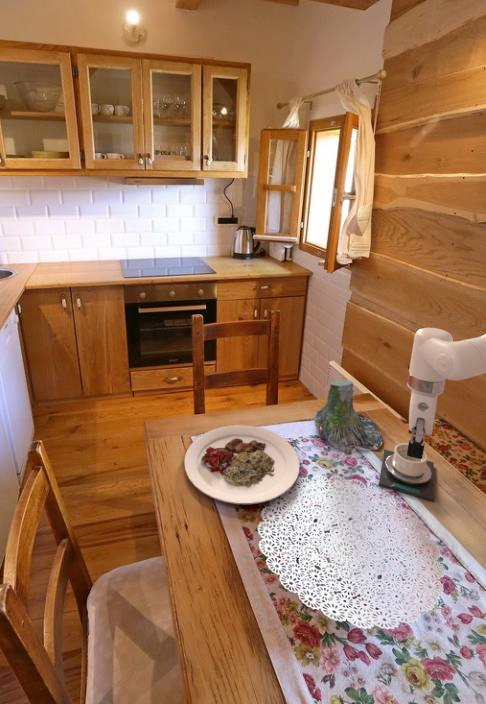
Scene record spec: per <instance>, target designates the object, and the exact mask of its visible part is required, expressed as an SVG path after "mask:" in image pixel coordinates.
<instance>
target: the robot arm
mask: <svg viewBox="0 0 486 704" xmlns="http://www.w3.org/2000/svg"><path fill="white" fill-rule="evenodd" d="M484 374H486V333H485V334H484V335H480V336H477V337H472V338H468V339H463V340H459V341H458V340H456V341H454V339H453V335H452V334H451V333H450V332H448V331H447V330H444V329H441V328H436V327H423V328H420V329H418V330H417V331H416V332H415V334H414V338H413V344H412V351H411V357H410V362H409V370H408V376H407V382H406V386H407V388H408V389H409V390H411V392H410V401H409V411H408V433H409V434H410V439H409V440H408V450H407V456H409V457H413V458H417V459H422V457H423V451H425V445H426V444H425V438H426V435H427V436H429V437H430V436H432V435H433V430H434V423H435V419H436V411H437V405H438V398H439V397H438V396H440V395H442V394H443V393H444V390H445V385H446V380H448V381H456V382H457V381H463V380H467V379H470V378H474V377H476V376H481V375H484Z"/></svg>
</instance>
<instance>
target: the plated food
mask: <svg viewBox="0 0 486 704" xmlns="http://www.w3.org/2000/svg"><path fill="white" fill-rule="evenodd" d="M185 452H186V453H185V455H184V462H183V463H184V470H185V473H186V475H187V478H188V479H189V481H190V482H191V483H192V484H193V486H194V487H195V488H196V489H198V490H199V491H200V492H202V493H203V494H204V495H206V496H208V497H210V498H212V499H214V500H217V501H220V502H222V503H228V504H235V505H254V504H255V505H256V504H260V503H261V504H262V503H265V502H268V501H273V500H275V499H277V498H279V497H280V496H283V495H284V494H285V493H286V492H288V491H289V490H290V489H291V488H292V487H293V485H294V484H295V482H296V481H297V480H298V477H299V474H300V460H299V455H298V453H297V452H296V450H295V448H294V447H293V446H292V445H291V444H290V442H289V441H287V440H286V439H285V438H283V436H281V435H279V434H278V433H275V432H273V431H271V430H268V429H266V428H264V427H258V426H254V425H246V424H233V425H232V424H231V425H225V426H224V425H223V426H219V427H216V428H214V429H210V430H209V431H206V432H205V433H203V434H201V435H199V436H198V437H197V438H196V439H195V440H193V441H192V442H191V444H190V445H189V446H188V448H187V450H186V451H185Z"/></svg>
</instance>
